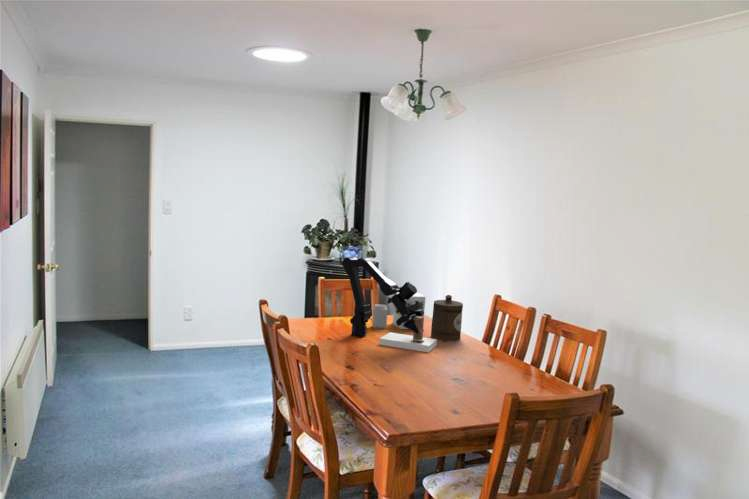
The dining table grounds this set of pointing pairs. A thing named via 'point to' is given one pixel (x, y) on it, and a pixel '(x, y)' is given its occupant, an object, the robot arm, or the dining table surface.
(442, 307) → the wooden container
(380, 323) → the can
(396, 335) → the grey board
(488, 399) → the dining table surface
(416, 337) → the walnut peg
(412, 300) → the supplement box
